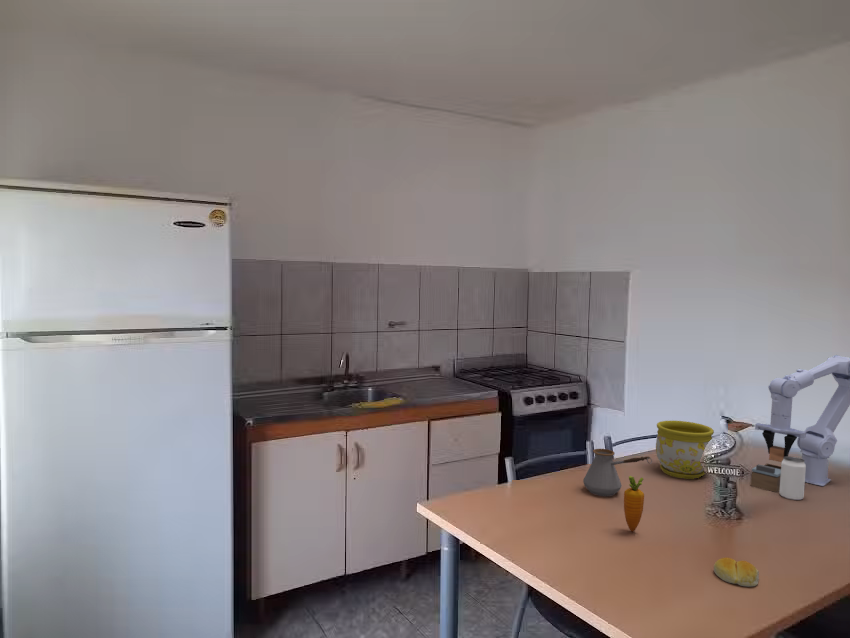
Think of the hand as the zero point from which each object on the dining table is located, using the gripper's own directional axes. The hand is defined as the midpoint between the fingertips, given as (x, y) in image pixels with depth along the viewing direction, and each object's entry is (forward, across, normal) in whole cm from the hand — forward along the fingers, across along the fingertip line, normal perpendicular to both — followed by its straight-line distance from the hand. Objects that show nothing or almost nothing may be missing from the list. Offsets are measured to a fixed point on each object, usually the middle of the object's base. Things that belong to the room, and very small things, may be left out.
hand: (778, 454), depth 198 cm
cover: (+5, -1, -7) cm, 8 cm away
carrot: (+10, -12, -75) cm, 76 cm away
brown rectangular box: (+9, -1, -3) cm, 10 cm away
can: (+10, +7, -11) cm, 16 cm away
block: (+2, 0, 0) cm, 2 cm away
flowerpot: (+10, -25, -16) cm, 31 cm away
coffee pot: (+10, -28, -55) cm, 62 cm away
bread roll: (+10, +15, -79) cm, 81 cm away
